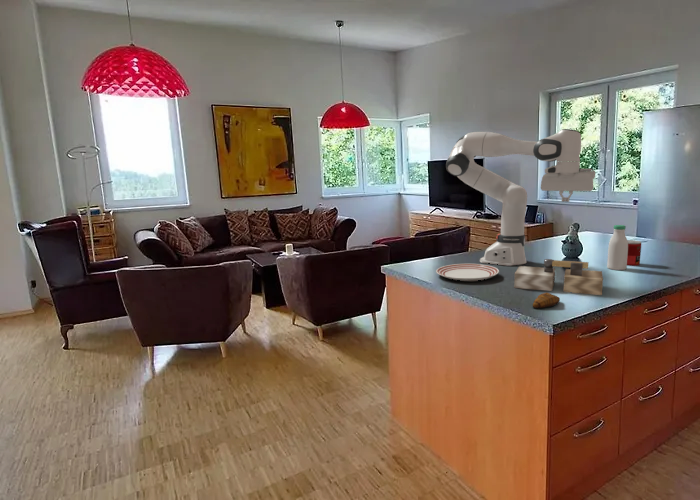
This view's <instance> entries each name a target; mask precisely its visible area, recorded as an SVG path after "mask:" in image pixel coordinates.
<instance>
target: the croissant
mask: <svg viewBox="0 0 700 500" xmlns="http://www.w3.org/2000/svg"><path fill="white" fill-rule="evenodd" d="M560 300H561V299H560V297H559V296H558V295H555V294H552V293H550V292H544V293H540V294H539V295H537V297H536V298H535V299H534V300H533V303H532V308H533V309H545V308H551V307H554V306H556V305H558V304H559V303H560V302H561V301H560Z"/></svg>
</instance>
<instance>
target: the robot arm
mask: <svg viewBox="0 0 700 500" xmlns="http://www.w3.org/2000/svg"><path fill="white" fill-rule="evenodd" d="M581 151H582V134H581V133H580V132H579V130H576V129H569V128H562V129H560V130H559V131H558V132H556V133H555V134H551V135H549V136H546V137H544V138H541V139H540V140H538V141H533V140H524V139H523V140H522V139H517V138H513V137H510V136H508V135H504V134H501V133H498V132H491V131H474V132H473V131H472V132H467V133H466V134H465V135H462V136H461V137H459V139H457V140H456V143H455V144H454V146H453V147H452V149H451V151H450V154H449V156H448V158H447V159H446V163H445V168H446V171H447V172H448V173H449V174H450V175H451V176H454V177H457V178H458V179H459V180H460V181H462V182H463V183H464V184H465V185H468V186H469V187H471V188H473V189H475V190H476V191H479V192H480V193H482V194H485V195H486V196H488V197H490V198H492V199H494V200H497V201H498V202H500V203H502V208H501V209H502V210H501V218H500V233H498V234H497V235H496V238H495V239H496V241H495V242H494V243H492V244H491V245H489V246H488V247H487V248H486V249H485V252H484V256H482V257H480V258H479V262H480V264H481V263H482V264H488V263H490V264H491V265H497V264H498V265H499V266H508V267H509V266H510V267H512V266H516V265H517V266H521V265H524V264H527V258H526V254H525V245H526V235H525V217H526V212H527V204H528V192H527V190H526V189H525V188H524V187H523V186H521V185H519V184H516V183H514V182H512V181H511V180H508V179H507V178H505V177H503V176H501V175H499V174H497V173H495V172H493V171H491V170H490V169H488V168H485V167H484V166H481V165H479V164H477V162H475V160H474V159H475V158H476V157H485V158H497V157H504V156H510V155H521V156H522V155H523V156H524V155H525V156H533V157H535V158H536V159H537V160H539V161H542V162H550V163H552V162H555V161H556V164H555V165H552V166H549V167H546V168H545V169H544V174H543V176H542V177H541V180H540V181H541V182H540V190H541V191H545V192H546V191H547V192H558V191H559V196H560V197H561V202H564V203H566V202H567V203H569V202H570V198H571V197H572V195H573V193H574V192H592V191H593V190H594V179H595V178H596V171H595V170H594V169H592V168H581V167H580V165H581V159H580V154H581ZM564 191H565V192H568V194H569V195H568V196H566V197H565V196H564V195H563V194H564ZM490 264H489V265H490Z"/></svg>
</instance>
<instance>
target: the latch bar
mask: <svg viewBox="0 0 700 500" xmlns="http://www.w3.org/2000/svg"><path fill="white" fill-rule="evenodd" d="M571 263H583V265H582V269H585V270H586V269H589V262H588V261H574V260H573V261H571V260H558V259H557V260H556V259H551V258H546V259H544V260H543V266H546V267H553V268H554V267H558V268H559V267H560V268H571Z"/></svg>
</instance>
